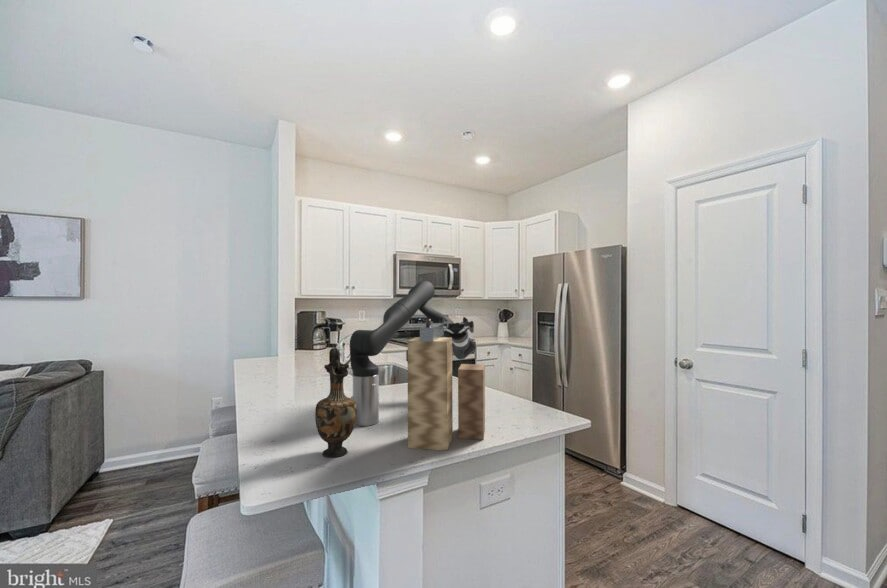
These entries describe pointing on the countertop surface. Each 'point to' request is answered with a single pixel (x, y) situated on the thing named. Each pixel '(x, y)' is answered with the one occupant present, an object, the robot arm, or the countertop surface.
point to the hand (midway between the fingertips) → (452, 319)
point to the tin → (431, 331)
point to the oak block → (430, 394)
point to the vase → (335, 409)
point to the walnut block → (471, 401)
